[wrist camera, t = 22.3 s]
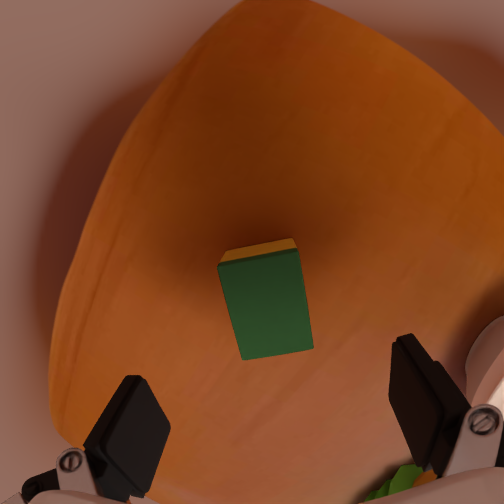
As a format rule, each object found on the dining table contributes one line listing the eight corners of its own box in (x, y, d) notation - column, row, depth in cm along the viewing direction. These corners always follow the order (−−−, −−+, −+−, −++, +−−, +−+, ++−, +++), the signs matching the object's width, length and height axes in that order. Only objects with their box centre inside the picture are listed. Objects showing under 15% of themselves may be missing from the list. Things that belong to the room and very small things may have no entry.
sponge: (225, 250, 21) (216, 266, 17) (292, 237, 21) (298, 250, 17) (246, 332, 23) (242, 360, 19) (307, 321, 22) (313, 349, 19)
